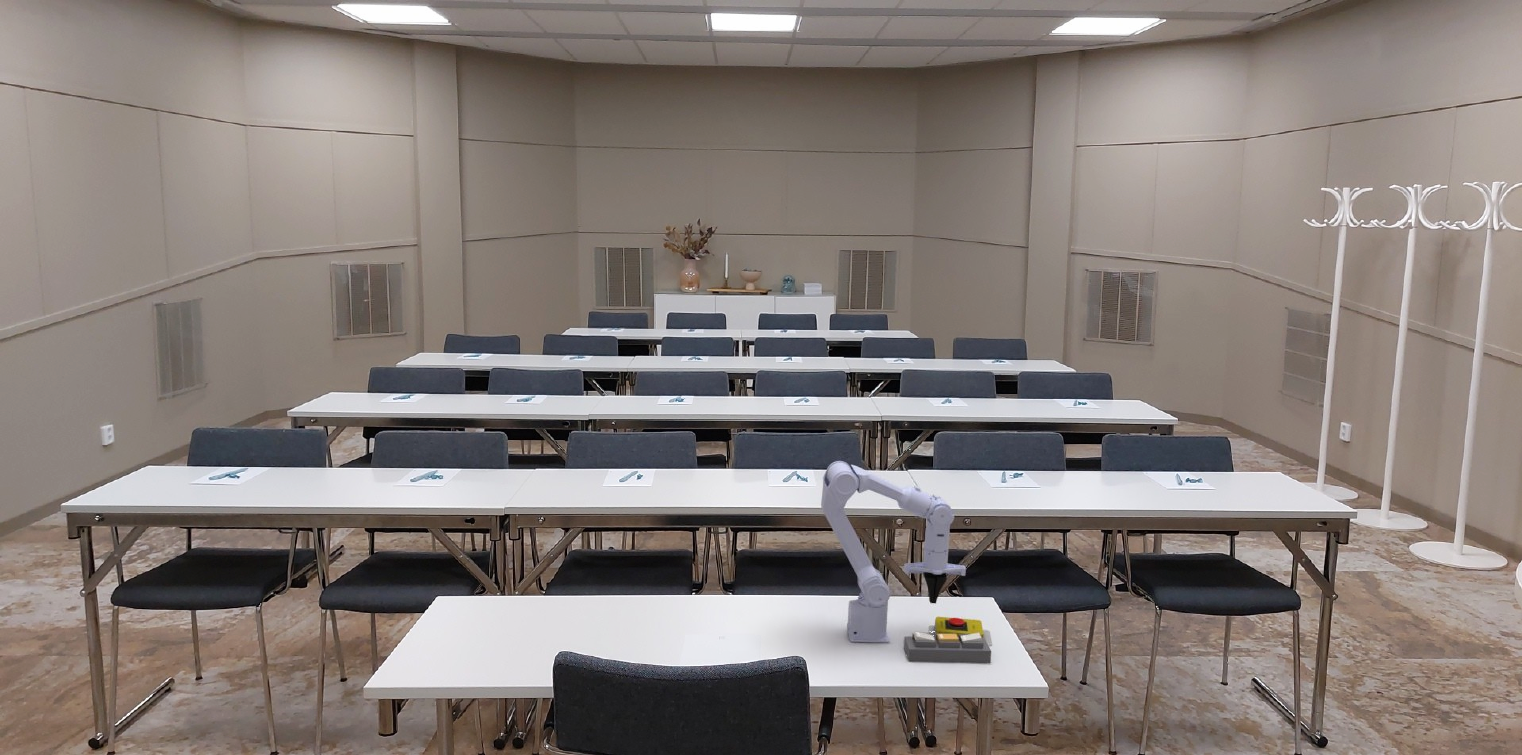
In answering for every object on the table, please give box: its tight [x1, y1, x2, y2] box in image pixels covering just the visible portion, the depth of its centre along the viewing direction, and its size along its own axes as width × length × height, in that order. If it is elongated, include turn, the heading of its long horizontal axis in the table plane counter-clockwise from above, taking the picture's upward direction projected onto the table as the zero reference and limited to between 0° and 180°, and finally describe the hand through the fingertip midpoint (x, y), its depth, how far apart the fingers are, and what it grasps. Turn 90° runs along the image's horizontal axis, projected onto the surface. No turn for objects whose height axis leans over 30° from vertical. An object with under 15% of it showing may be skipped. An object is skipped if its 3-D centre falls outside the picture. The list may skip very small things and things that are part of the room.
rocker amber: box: [937, 634, 958, 642], centre depth 249 cm, size 4×3×1 cm, turn 91°
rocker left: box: [913, 630, 935, 641], centre depth 249 cm, size 4×3×1 cm, turn 92°
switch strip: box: [903, 632, 992, 664], centre depth 249 cm, size 19×7×4 cm, turn 91°
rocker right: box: [960, 633, 982, 642], centre depth 249 cm, size 4×3×1 cm, turn 91°
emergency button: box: [928, 616, 993, 647], centre depth 260 cm, size 9×4×15 cm
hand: (932, 601), depth 259 cm, fingers closed
